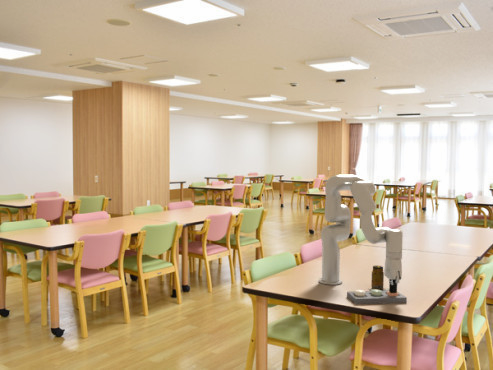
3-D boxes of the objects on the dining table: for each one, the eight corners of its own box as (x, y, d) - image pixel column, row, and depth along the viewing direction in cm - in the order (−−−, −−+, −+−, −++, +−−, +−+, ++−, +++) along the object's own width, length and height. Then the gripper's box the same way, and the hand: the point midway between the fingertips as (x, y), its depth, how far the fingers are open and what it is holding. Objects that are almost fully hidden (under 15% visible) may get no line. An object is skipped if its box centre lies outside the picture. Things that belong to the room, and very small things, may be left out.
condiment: (374, 286, 245) (375, 264, 244) (389, 289, 239) (390, 266, 238) (367, 289, 240) (368, 266, 239) (383, 292, 234) (383, 269, 233)
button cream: (352, 294, 223) (353, 289, 222) (362, 294, 223) (363, 289, 223) (356, 297, 218) (356, 292, 217) (366, 297, 218) (366, 292, 218)
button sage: (369, 294, 224) (369, 289, 223) (379, 293, 224) (379, 289, 224) (373, 297, 219) (373, 292, 218) (383, 296, 219) (383, 292, 219)
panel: (346, 296, 226) (347, 291, 226) (395, 295, 229) (395, 290, 229) (355, 304, 214) (355, 298, 214) (406, 302, 217) (406, 297, 217)
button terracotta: (385, 295, 225) (385, 291, 224) (395, 295, 225) (395, 290, 225) (389, 298, 220) (389, 294, 220) (399, 298, 220) (399, 293, 220)
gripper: (380, 252, 228) (379, 288, 229) (393, 258, 213) (392, 297, 214) (394, 251, 229) (393, 288, 230) (408, 258, 214) (407, 296, 215)
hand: (393, 292), depth 222 cm, fingers closed
